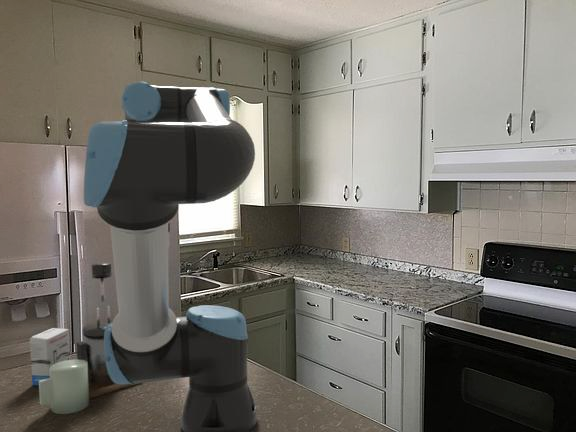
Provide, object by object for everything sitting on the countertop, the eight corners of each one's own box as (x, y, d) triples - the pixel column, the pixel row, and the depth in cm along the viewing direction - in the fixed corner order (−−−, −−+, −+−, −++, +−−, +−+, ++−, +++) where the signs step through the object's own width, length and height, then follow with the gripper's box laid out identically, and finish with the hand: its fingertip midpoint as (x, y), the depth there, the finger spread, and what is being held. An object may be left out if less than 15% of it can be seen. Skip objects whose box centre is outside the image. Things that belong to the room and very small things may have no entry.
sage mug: (94, 405, 107) (93, 365, 107) (47, 421, 101) (45, 378, 100) (81, 395, 113) (79, 356, 112) (35, 409, 106) (33, 368, 105)
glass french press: (143, 381, 120) (140, 307, 118) (90, 398, 111) (86, 318, 109) (120, 366, 129) (117, 297, 128) (69, 381, 120) (65, 307, 119)
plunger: (115, 301, 118) (114, 264, 118) (97, 304, 115) (96, 266, 115) (108, 297, 122) (106, 262, 121) (90, 301, 119) (88, 264, 118)
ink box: (49, 387, 117) (46, 339, 116) (31, 385, 118) (28, 337, 117) (71, 373, 126) (69, 328, 125) (54, 371, 126) (52, 327, 126)
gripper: (190, 151, 108) (192, 247, 109) (128, 157, 124) (131, 240, 125) (161, 149, 102) (164, 250, 103) (100, 156, 119) (103, 243, 120)
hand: (146, 245), depth 114 cm, fingers open, 13 cm apart
